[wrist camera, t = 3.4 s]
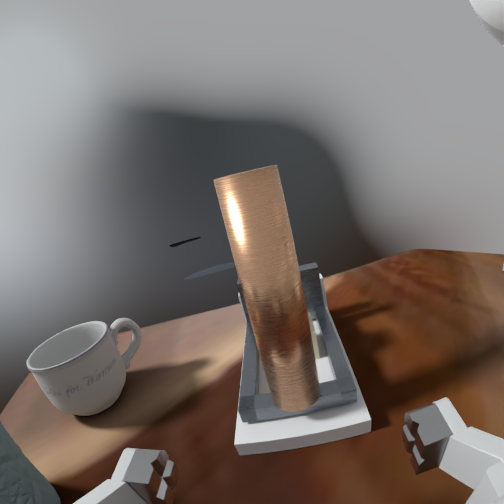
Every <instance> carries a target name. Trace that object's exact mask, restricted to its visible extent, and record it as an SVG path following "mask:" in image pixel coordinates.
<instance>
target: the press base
mask: <svg viewBox="0 0 504 504" xmlns="http://www.w3.org/2000/svg"><path fill="white" fill-rule="evenodd" d="M319 276H320V282H321V288H322V294H323V300H324V306H325V308H326V311H327V313H328V316H329V318H330V321H331V323H332V326H333V328H334V331H335V333H336V336H337V338H338V341H339V344H340V346H341V349H342V351H343V354H344V357H345V359H346V362H347V364H348V367H349V370H350V372H351V375H352V378H353V380H354V383H355V386H356V389H357V402H353V403H349V404H345V405H341V406H336V407H332V408H328V409H323V410H318V411H314V412H309V413H303V414H298V415H293V416H287V417H281V418H274V419H268V420H260V421H253V422H244V423H243V422H242V419H241V417H240V414H239V412H238V414H237V423H236V433H235V443H234V445H235V447H236V449H237V451H238V453H239V455H250V454H260V453H268V452H276V451H283V450H290V449H296V448H302V447H307V446H313V445H318V444H323V443H327V442H332V441H337V440H341V439H345V438H349V437H353V436H357V435H361V434H365V433H368V432H371V418H370V415H369V412H368V409H367V407H366V404H365V401H364V399H363V396H362V393H361V391H360V388H359V385H358V383H357V380H356V378H355V375H354V372H353V370H352V367H351V365H350V362H349V360H348V357H347V355H346V352H345V349H344V347H343V344H342V342H341V340H340V337H339V335H338V332H337V330H336V327H335V325H334V322H333V320H332V318H331V315H330V313H329V310H328V307H327V301H326V294H325V288H324V282H323V277H322V275H321V274H319ZM238 297H239V300H240V304H241V308H242V311H243V315H244V318H245V322H246V327H247V320H246V316H245V312H244V309H243V305H242V301H241V298H240V294H239V295H238ZM305 302H306V301H305ZM308 319H309V325H310V330H311V336H312V342H313V348H314V354H315V360H316V366H317V372H318V379H319V383H323V382H327V381H332V380H334V377H333V373H332V370H331V367H330V363H329V360H328V357H327V353H326V350H325V347H324V344H323V340H322V337H321V334H320V331H319V328H318V324H317V321H316V318H315V319H312V318H311V315H310V312H308ZM245 337H246V334H245ZM244 347H245V344H244ZM243 357H244V354H243ZM242 367H243V364H242ZM241 377H242V374H241ZM240 387H241V384H240ZM264 393H270V389H269V386H268V382H267V379H266V375H265V372H264V368H263V365H262V361H261V357H260V365H259V394H264ZM239 397H240V394H239ZM238 407H239V404H238Z"/></svg>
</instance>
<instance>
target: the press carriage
mask: <svg viewBox="0 0 504 504" xmlns="http://www.w3.org/2000/svg"><path fill="white" fill-rule="evenodd" d="M214 184H215V188H216V192H217V196H218V199H219V203H220V208H221V211H222V215H223V219H224V223H225V227H226V231H227V235H228V239H229V243H230V246H231V250H232V254H233V258H234V262H235V265H236V269H237V273H238V277H239V279H238V282H237V287H238V290H239V294H240V298H241V301H242V305H243V309H244V312H245V316H246V320H247V327H246V337H245V347H244V357H243V367H242V377H241V387H240V397H239V407H238V412H239V414H240V417H241V419H242V422H243V423H244V422H253V421H260V420H268V419H274V418H281V417H287V416H293V415H298V414H303V413H309V412H314V411H318V410H323V409H328V408H332V407H336V406H341V405H345V404H349V403H353V402H357V389H356V386H355V383H354V380H353V378H352V375H351V372H350V370H349V367H348V364H347V362H346V359H345V357H344V354H343V351H342V349H341V346H340V344H339V341H338V338H337V336H336V333H335V331H334V328H333V326H332V323H331V321H330V318H329V316H328V313H327V311H326V308H325V306H324V300H323V294H322V288H321V282H320V276H319V270H318V266H317V264H316V263H311V264H306V265H302V266H298V261H297V256H296V251H295V246H294V241H293V236H292V231H291V226H290V222H289V217H288V212H287V208H286V203H285V199H284V195H283V190H282V185H281V181H280V176H279V172H278V168H277V165H273V166H268V167H263V168H259V169H254V170H250V171H245V172H241V173H237V174H233V175H229V176H225V177H221V178H218V179H214ZM305 301H306V302H305ZM308 312H310V315H311V318H312V319H315V318H316V321H317V324H318V328H319V331H320V334H321V337H322V340H323V344H324V347H325V350H326V353H327V357H328V360H329V363H330V367H331V370H332V373H333V377H334V380H332V381H327V382H323V383H319V379H318V372H317V366H316V360H315V354H314V348H313V342H312V336H311V330H310V325H309V319H308ZM260 357H261V361H262V365H263V368H264V372H265V375H266V379H267V382H268V386H269V389H270V393H264V394H259V365H260Z"/></svg>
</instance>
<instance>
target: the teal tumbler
mask: <svg viewBox="0 0 504 504" xmlns="http://www.w3.org/2000/svg"><path fill="white" fill-rule="evenodd" d="M0 504H61V502H60V498H59V496H58V494H57V492H56V490H55V489H54V487H53V486H52V485H51V484H50V483H49V482H48V480H47V479H46V478H45V477H44V476H43V475H42V474H41V473H40V472H39V471H38V470H37V469H36V467H35V466H34V465H33V464H32V463H31V462H30V461H29V460H28V459H27V458H26V457H25V455H24V454H23V453H22V451H21V449H20V447H19V446H18V445H17V444H16V443H15V442H14V440H13V439H12V438H11V436H10V435H9V433H8V432H7V431H6V429H5V428H4V426H3V425H2V423H1V422H0Z"/></svg>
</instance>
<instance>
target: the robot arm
mask: <svg viewBox="0 0 504 504" xmlns="http://www.w3.org/2000/svg"><path fill="white" fill-rule="evenodd" d="M469 1H470V3H471V5H472V7H473V9H474V11H475V13H476V15H477V16H478V18H479V20H480V21H481V23H482V24H483V26H484V27H485V29H486V30H487V31H488V32H489V33H490V34H491V35H492V36H493V37H494V38H495V39H496V40H497V41H499V42H500V43H501V45H502V46H503V48H504V0H469ZM503 271H504V265H503ZM404 421H405V423H406V425H405V426H404V427H403V432H402V436H403V442H404V446H405V449H406V451H407V452H409V453H411V454H412V456H411V463H412V466H413V468H414V471H415V473H416V475H417V474H420V473H423V472H426V471H428V470H431V469H434V468H436V467H439V468H440V469H442V470H443V471H445V472H447V473H448V474H450V475H451V476H453V477H454V478H456V479H458V480H459V481H461V482H463V483H464V484H466V485H467V486H469V487H471V488H472V489H474V491H473V493H472V494H471V496H470V497H469V499H468V500H467V502H466V504H504V439H502V438H499V437H497V436H494V435H491V434H489V433H486V432H484V431H481V430H479V429H476V428H474V427H469V428H467V426H466V425H465V423H464V422H463V420H462V418H461V417H460V415H459V414H458V412H457V411H456V409H455V408H454V406H453V405H452V403H451V402H450V400H449V399H448V398H446V397H445V398H443V399H440V400H438V401H435V402H433V403H429V404H427V405H424V406H422V407H419V408H416V409H414V410H411V411H408V412H406V413H405V416H404ZM168 457H169V455H168V454H167V453H166V452H165V450H147V449H134V448H126V449H125V450H124V451H123V453H122V455H121V457H120V459H119V462H118V464H117V466H116V469H115V471H114V473H113V476H112V478H111V480H110V479H107V480H106V481H105V482H103V483H102V484H100V485H99V486H98V487H96V488H95V489H93V490H92V491H90V492H89V493H88V494H86V495H85V496H83V497H82V498H80V499H79V500H77V501H76V502H74V503H73V504H173V500H174V496H175V494H174V492H173V490H172V489H173V488H174V487H175V486H177V484H178V479H179V477H178V470H177V467H176V465H175V464H174V463H173V462H172V461H170V460H168Z"/></svg>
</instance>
